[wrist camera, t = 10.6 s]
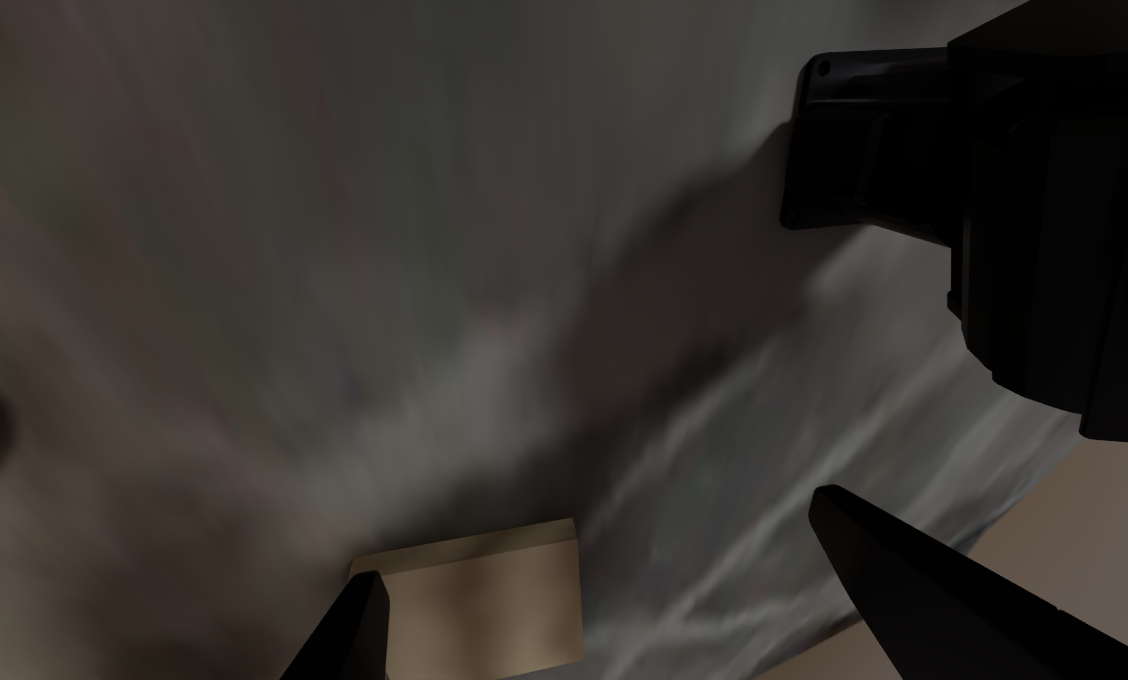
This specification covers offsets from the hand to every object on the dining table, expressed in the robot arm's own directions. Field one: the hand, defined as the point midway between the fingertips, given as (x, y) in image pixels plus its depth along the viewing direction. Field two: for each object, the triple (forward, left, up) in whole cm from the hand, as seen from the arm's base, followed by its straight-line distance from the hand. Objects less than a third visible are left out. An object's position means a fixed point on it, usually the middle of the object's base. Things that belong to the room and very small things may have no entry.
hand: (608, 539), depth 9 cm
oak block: (+5, +19, -12) cm, 23 cm away
